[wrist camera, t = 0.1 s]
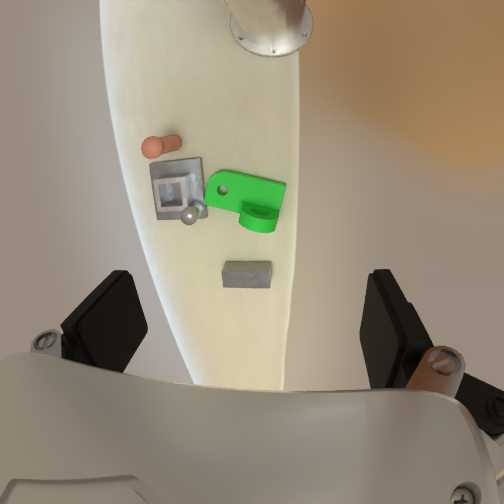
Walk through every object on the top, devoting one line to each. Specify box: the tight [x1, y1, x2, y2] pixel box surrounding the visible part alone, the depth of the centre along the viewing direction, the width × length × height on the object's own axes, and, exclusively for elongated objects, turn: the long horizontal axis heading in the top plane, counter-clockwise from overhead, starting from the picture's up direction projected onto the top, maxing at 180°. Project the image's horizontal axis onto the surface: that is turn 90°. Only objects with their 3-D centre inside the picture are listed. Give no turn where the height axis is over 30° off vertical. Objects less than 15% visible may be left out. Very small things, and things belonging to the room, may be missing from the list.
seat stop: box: [222, 261, 272, 288], centre depth 50 cm, size 3×8×4 cm, turn 93°
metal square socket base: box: [149, 158, 208, 225], centre depth 45 cm, size 10×9×5 cm
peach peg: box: [141, 135, 182, 159], centre depth 40 cm, size 3×3×9 cm
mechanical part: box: [204, 170, 286, 233], centre depth 43 cm, size 12×6×8 cm, turn 78°
